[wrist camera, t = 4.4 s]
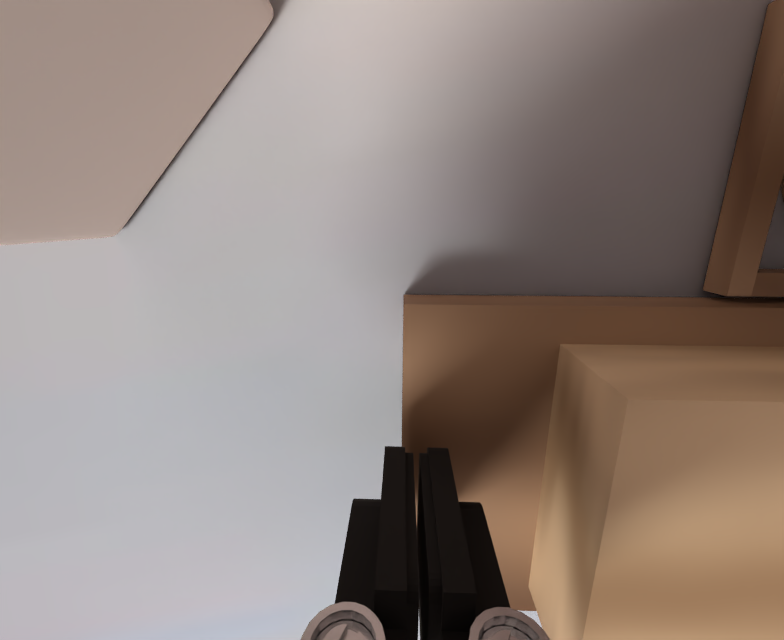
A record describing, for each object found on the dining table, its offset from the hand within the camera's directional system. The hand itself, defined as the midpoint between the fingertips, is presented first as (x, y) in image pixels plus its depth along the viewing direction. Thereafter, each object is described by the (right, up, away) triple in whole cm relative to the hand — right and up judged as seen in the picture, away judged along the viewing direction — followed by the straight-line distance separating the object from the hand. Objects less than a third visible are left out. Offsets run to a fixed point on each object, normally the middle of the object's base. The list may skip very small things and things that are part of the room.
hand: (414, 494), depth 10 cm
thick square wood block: (+8, 0, +1) cm, 8 cm away
